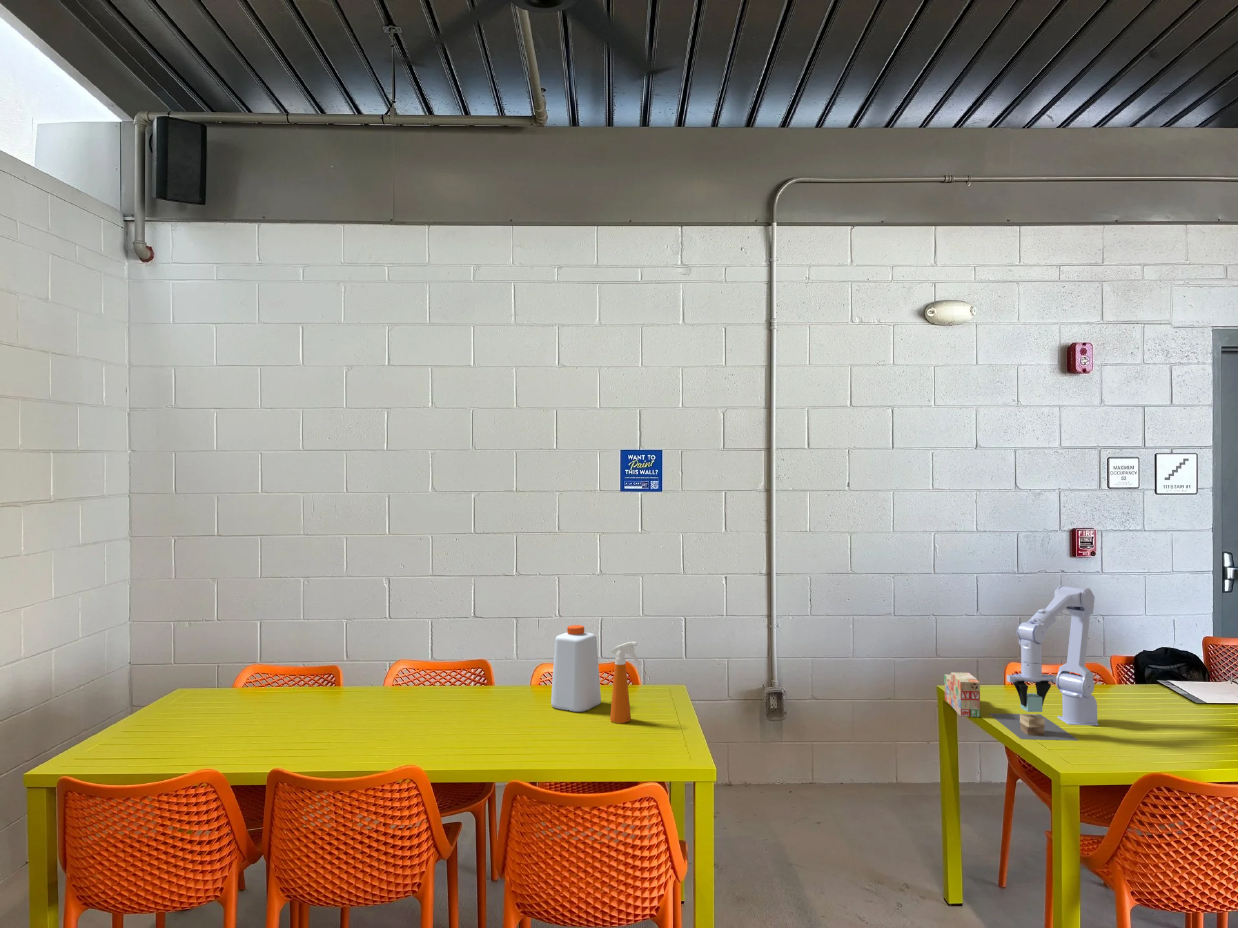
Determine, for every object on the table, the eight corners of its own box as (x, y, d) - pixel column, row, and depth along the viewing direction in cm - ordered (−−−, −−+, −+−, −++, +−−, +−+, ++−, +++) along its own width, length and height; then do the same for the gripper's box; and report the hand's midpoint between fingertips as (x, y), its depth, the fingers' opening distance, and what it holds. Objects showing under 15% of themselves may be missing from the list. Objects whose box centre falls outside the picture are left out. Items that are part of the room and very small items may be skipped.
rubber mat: (1040, 715, 263) (1040, 714, 263) (1079, 741, 237) (1079, 740, 237) (988, 714, 265) (988, 713, 265) (1021, 739, 239) (1021, 738, 239)
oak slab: (1035, 721, 248) (1035, 713, 248) (1044, 726, 243) (1044, 718, 243) (1019, 722, 247) (1019, 714, 247) (1029, 727, 242) (1028, 719, 242)
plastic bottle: (582, 714, 267) (582, 632, 268) (546, 707, 275) (546, 628, 275) (605, 702, 280) (605, 624, 281) (570, 697, 288) (569, 621, 288)
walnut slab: (1037, 730, 247) (1036, 722, 247) (1044, 735, 242) (1044, 727, 242) (1020, 729, 248) (1020, 721, 248) (1027, 734, 243) (1027, 726, 243)
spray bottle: (640, 724, 255) (639, 644, 256) (607, 722, 258) (607, 642, 258) (643, 718, 262) (643, 639, 263) (612, 716, 265) (612, 638, 265)
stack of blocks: (944, 699, 283) (943, 665, 283) (962, 700, 282) (962, 666, 282) (960, 717, 261) (960, 680, 262) (980, 718, 261) (980, 681, 261)
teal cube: (1034, 707, 248) (1034, 693, 248) (1042, 711, 243) (1042, 697, 243) (1020, 707, 248) (1020, 693, 248) (1027, 711, 243) (1027, 697, 243)
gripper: (1047, 658, 249) (1048, 701, 249) (1002, 658, 249) (1002, 701, 249) (1059, 663, 242) (1060, 707, 242) (1012, 663, 242) (1013, 707, 242)
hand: (1031, 705), depth 245 cm, fingers closed on teal cube, 4 cm apart
